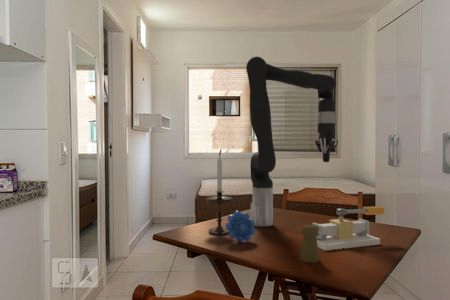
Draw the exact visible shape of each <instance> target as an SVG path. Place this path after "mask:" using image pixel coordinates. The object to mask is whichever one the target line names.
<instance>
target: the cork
mask: <svg viewBox="0 0 450 300" xmlns="http://www.w3.org/2000/svg"><path fill="white" fill-rule="evenodd" d="M301 234H302V242H301V250H300V256H299V259H300V261H302V262H305V263H318V262H320V255H319V254H320V253H319V248H318V246H317V238H316V236H317V234H318V228H317V227H316V226H314V225H312V224H304V225H302V227H301Z"/></svg>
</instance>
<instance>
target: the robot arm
mask: <svg viewBox="0 0 450 300" xmlns="http://www.w3.org/2000/svg"><path fill="white" fill-rule="evenodd" d="M245 69H246V73H247V78H248V84H249V85H248V86H249V117H250V125H251V129H252V130H253V133H254V135H255V138H256V142H257V147H258V148H257V149H258V150H257V151H256V152H255V153H254V154H252V156H251V158H250V162H249V163H250V180H251V182H252V202H251V203H250V219H253V220H254V222H255V225H254V226H255V227H261V228H263V227H271V226H273V224H274V222H273V221H274V219H273V217H274V211H273V210H274V208H273V207H274V203H273V202H274V200H273V199H274V198H273V197H274V191H273V190H274V183H273V180H272V179H271V177H270V173H271V172H273V171H274V169H275V167H276V165H277V159H276V158H277V157H276V153H275V148H274V147H275V146H274V142H273V141H274V140H273V131H272V130H273V129H272V113H271V105H270V104H271V103H270V98H269V94H268V90H267V81H272V82H279V83H283V84H287V85H291V86H294V87H297V88H298V87H299V88H303V89H308V90H309V89H314V90H317V97H318V108H317V109H318V110H317V111H318V113H317V130H316V131H317V134H319V135H318V138H317V140H315V141H314V143H315V146H316V147H317V150H318V151H319V153H322V162H323V163H329V162H330V154H331V153H334V151H335V149H336V147H337V145H338V144H339V140H336V139H335V135H334V134H336V103H335V100H334V90H335V89H336V87H337V81H336V79H335V78H334V77H333V76H332V75H328V74H322V73H312V72H310V71H309V72H308V71H304V70H300V69H293V68H283V67H278V66H274V65H271V64H269V63H267V62H266V61H265V59H264V58H263V57H261V56H258V55H257V56H256V55H255V56H253V57H251V58H250V59H248V62H247V63H246V68H245ZM254 226H253V227H254Z"/></svg>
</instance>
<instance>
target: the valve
mask: <svg viewBox="0 0 450 300" xmlns="http://www.w3.org/2000/svg"><path fill="white" fill-rule="evenodd" d="M328 221H329V223H328V222H327V223H316V222H312V223H311V225H314V226H316V227H317V228H318V234H317V236H316V238H317V246H318V249H320V250H322V251H324V252H325V251H326V252H327V251H333V250H334V249H335V250H342V249H343V248H344V249H350V248H359V247H368V246H377V245H381V238H379V237H375V236H373V235H370V221H369V220H366V219H363V218H358V220H352V221H350V220H348V219H344V215H338V218H337V219H335V218H334V219H329V220H328ZM335 250H334V251H335Z"/></svg>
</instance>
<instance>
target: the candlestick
mask: <svg viewBox="0 0 450 300" xmlns="http://www.w3.org/2000/svg"><path fill="white" fill-rule="evenodd" d="M221 154H222V149H220V150H219V153H218V159H217V160H216V161H217V163H216V164H217V167H216V169H217V172H216V174H217V175H216V176H217V177H216V178H217V180H216V181H217V182H216V183H217V186H216V189H217V190H216V191H214V193H216V195H214V196H207V197H206V202H208V203H214V204H216V205H217V212H216V218H217V219H216V222H217V226H216V227H213V228H209V229H208V234H209V235H211V236H227V235H229V231H231V230H228V229H227V228H226V227H223V226H222V222H223V219H222V217H223V216H224V213H223V212H222V205H223V204H225V203H226V204H227V203H231V202H233V197H232V196H225V195H223V193H224V192H225V191H223V188H222V187H223V185H222V184H223V159H222V158H221Z"/></svg>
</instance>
